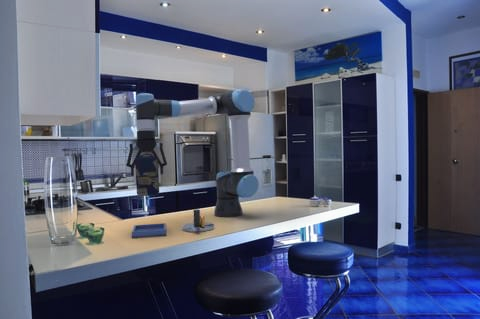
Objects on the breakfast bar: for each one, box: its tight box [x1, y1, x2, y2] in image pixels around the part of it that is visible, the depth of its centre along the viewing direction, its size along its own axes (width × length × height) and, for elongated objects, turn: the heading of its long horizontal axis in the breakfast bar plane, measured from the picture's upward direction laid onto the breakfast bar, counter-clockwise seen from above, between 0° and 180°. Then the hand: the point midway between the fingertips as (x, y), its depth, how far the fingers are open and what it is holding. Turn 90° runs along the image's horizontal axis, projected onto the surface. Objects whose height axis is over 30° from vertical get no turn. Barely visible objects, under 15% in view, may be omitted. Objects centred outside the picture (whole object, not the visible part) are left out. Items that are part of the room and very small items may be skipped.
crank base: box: [181, 215, 215, 233], centre depth 165 cm, size 14×14×6 cm
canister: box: [135, 153, 160, 197], centre depth 159 cm, size 10×10×18 cm
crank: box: [193, 209, 201, 229], centre depth 161 cm, size 12×4×8 cm, turn 4°
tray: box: [131, 222, 167, 239], centre depth 159 cm, size 14×15×2 cm
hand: (147, 182), depth 159 cm, fingers closed on canister, 9 cm apart
